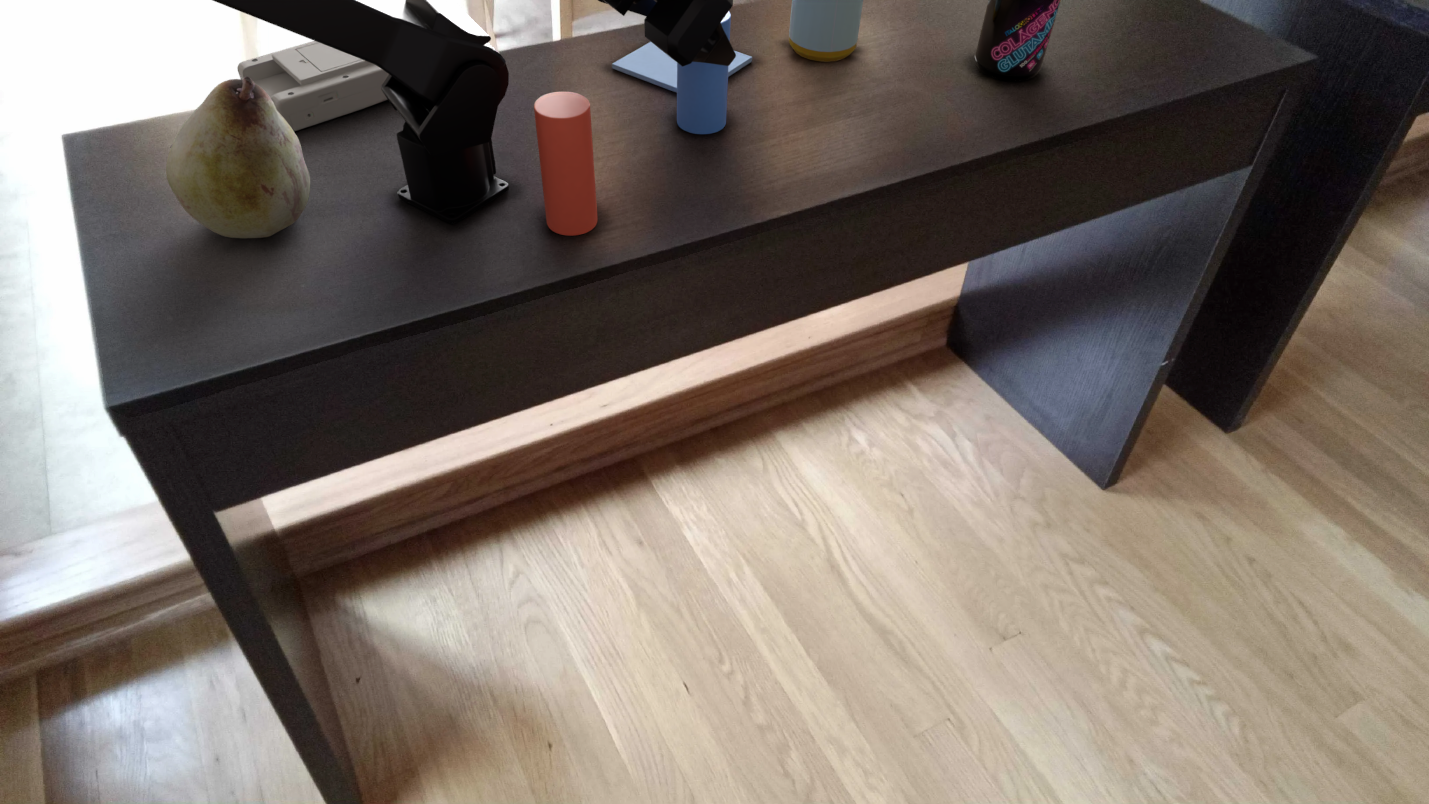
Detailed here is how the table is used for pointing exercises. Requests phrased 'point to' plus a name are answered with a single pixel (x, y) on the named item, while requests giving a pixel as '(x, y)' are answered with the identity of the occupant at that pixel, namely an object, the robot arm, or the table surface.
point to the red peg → (566, 162)
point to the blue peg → (703, 94)
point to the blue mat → (662, 66)
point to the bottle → (824, 28)
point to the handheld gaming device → (315, 82)
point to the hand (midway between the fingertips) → (701, 38)
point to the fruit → (239, 164)
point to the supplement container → (1015, 38)
